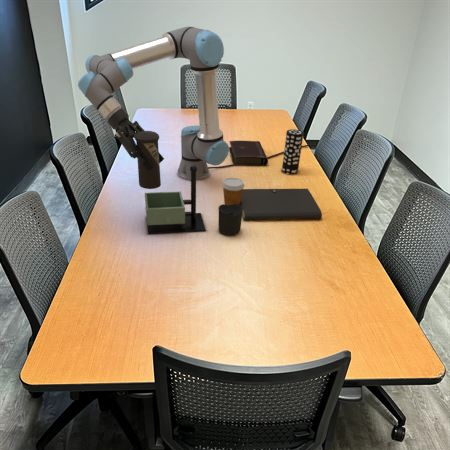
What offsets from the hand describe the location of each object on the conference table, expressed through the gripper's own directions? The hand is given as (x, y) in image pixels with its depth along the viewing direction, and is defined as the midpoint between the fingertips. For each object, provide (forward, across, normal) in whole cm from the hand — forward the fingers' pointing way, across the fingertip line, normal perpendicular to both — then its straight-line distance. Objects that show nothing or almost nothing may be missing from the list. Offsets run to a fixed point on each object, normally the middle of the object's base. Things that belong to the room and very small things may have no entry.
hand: (156, 165), depth 171 cm
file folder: (+46, -34, +11) cm, 58 cm away
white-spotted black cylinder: (+43, -78, +8) cm, 89 cm away
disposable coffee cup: (+33, -26, -2) cm, 42 cm away
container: (+4, 0, -9) cm, 9 cm away
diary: (+24, -86, -11) cm, 91 cm away
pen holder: (+37, -6, +2) cm, 38 cm away
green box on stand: (+22, -2, -13) cm, 25 cm away
